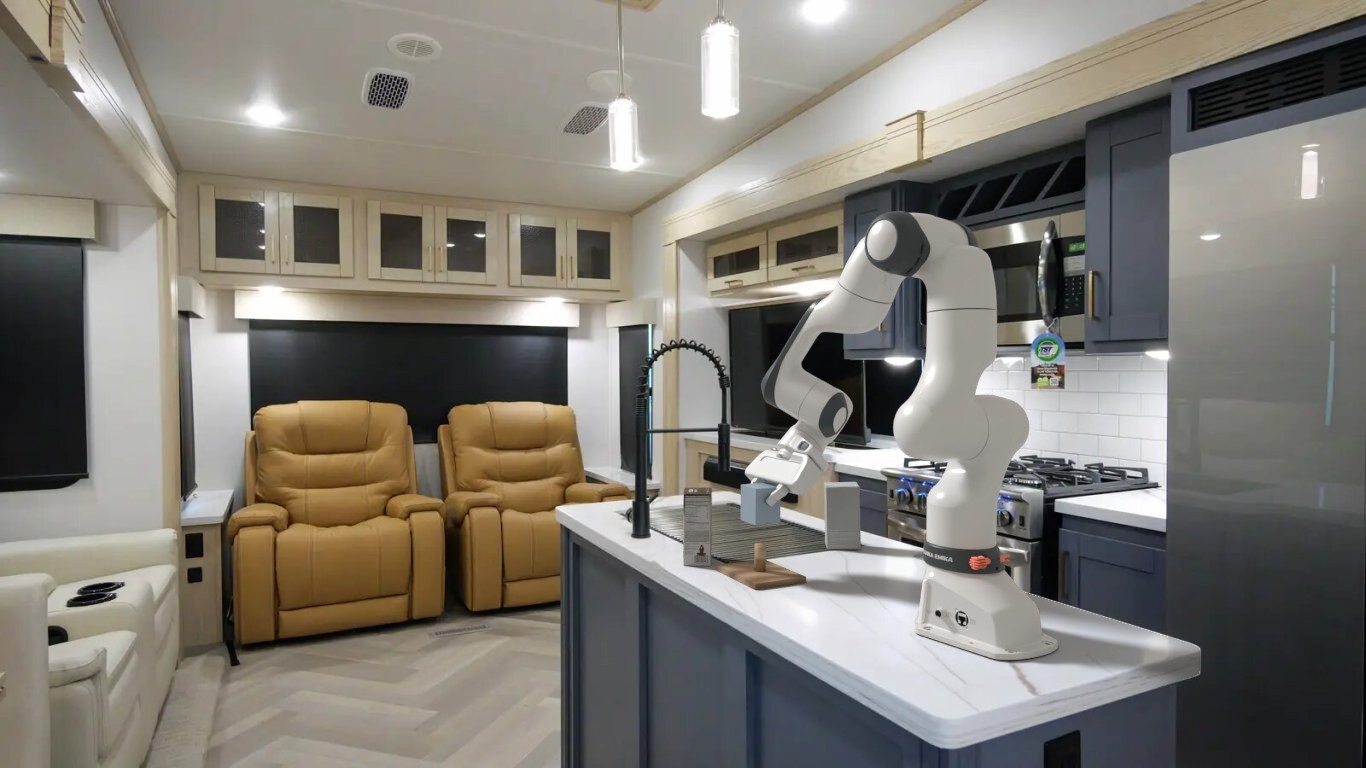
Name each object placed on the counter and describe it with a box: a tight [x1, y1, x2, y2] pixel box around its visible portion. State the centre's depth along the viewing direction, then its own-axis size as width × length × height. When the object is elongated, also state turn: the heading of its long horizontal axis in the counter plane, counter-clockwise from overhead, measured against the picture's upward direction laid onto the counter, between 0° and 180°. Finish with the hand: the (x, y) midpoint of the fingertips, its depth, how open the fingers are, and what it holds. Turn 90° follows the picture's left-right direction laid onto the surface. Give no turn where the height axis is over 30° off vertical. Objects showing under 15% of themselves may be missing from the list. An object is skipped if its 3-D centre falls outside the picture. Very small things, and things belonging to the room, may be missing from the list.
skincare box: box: [823, 481, 862, 550], centre depth 184 cm, size 8×7×16 cm
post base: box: [716, 542, 807, 590], centre depth 158 cm, size 16×12×7 cm
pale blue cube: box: [740, 483, 781, 526], centre depth 158 cm, size 6×6×8 cm
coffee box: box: [682, 487, 713, 567], centre depth 171 cm, size 9×6×16 cm
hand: (757, 500), depth 158 cm, fingers closed on pale blue cube, 6 cm apart
